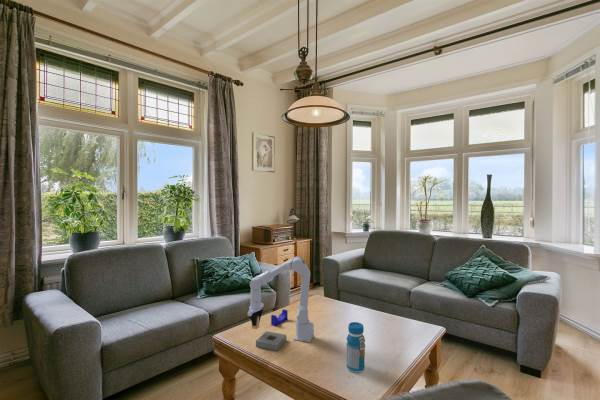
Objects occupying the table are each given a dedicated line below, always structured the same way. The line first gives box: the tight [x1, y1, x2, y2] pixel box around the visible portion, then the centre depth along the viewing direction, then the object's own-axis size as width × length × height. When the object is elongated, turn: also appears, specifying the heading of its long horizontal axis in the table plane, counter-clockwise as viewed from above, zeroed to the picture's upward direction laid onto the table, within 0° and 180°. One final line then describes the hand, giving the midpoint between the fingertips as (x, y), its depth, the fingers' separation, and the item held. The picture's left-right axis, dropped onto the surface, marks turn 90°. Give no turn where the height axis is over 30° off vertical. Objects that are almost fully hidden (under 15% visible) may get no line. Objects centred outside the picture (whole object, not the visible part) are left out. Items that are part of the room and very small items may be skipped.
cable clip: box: [270, 308, 289, 327], centre depth 191 cm, size 12×4×6 cm, turn 144°
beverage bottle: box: [345, 321, 366, 374], centre depth 142 cm, size 8×8×20 cm
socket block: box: [255, 330, 287, 352], centre depth 165 cm, size 12×12×3 cm
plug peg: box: [251, 316, 260, 330], centre depth 171 cm, size 3×3×6 cm
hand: (255, 324), depth 171 cm, fingers closed on plug peg, 3 cm apart
